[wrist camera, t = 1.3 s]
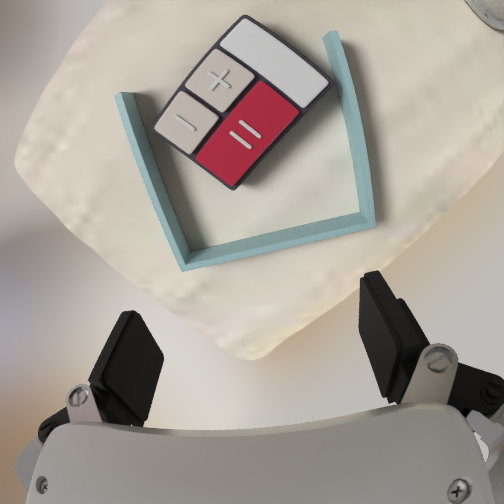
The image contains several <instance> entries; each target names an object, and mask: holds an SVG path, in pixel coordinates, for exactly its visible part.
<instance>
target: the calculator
mask: <svg viewBox="0 0 504 504" xmlns="http://www.w3.org/2000/svg"><path fill="white" fill-rule="evenodd" d="M332 86H333V81H332V79H331V78H330V77H328V76H327V75H326V74H325V73H324V72H323V71H322V70H321V69H319V68H318V67H317V66H316V65H315V64H314V63H312V62H311V61H310V60H309V59H308V58H306V57H305V56H304V55H303V54H301V53H300V52H299V51H298V50H296V49H295V48H294V47H293V46H291V45H290V44H289V43H287V42H286V41H285V40H283V39H282V38H281V37H279V36H278V35H277V34H275V33H274V32H272V31H271V30H269V29H268V28H267V27H265V26H264V25H262V24H261V23H259V22H258V21H256V20H255V19H253V18H251V17H250V16H248V15H242V16H241V17H240V18H239V19H238V20H237V21H236V22H235V23H234V24H233V25H232V26H231V27H230V28H229V29H228V30H227V31H226V32H225V33H224V34H223V35H222V36H221V38H220V39H219V40H218V41H217V42H216V43H215V44H214V45H213V46H212V47H211V49H210V50H209V51H208V52H207V53H206V54H205V55H204V57H203V58H202V59H201V60H200V61H199V63H198V64H197V65H196V66H195V67H194V69H193V70H192V71H191V72H190V74H189V75H188V76H187V77H186V79H185V80H184V81H183V82H182V84H181V85H180V86H179V88H178V89H177V90H176V92H175V93H174V94H173V96H172V97H171V98H170V100H169V101H168V103H167V104H166V105H165V107H164V108H163V110H162V111H161V113H160V114H159V116H158V117H157V118H156V120H155V121H154V123H153V125H152V126H151V130H152V131H153V132H154V133H155V134H157V135H158V136H159V137H161V138H162V139H164V140H165V141H166V142H168V143H169V144H170V145H172V146H173V147H175V148H176V149H177V150H179V151H180V152H181V153H183V154H184V155H185V156H187V157H188V158H189V159H191V160H192V161H193V162H195V163H196V164H197V165H199V166H200V167H201V168H203V169H204V170H205V171H207V172H208V173H209V174H211V175H212V176H213V177H215V178H216V179H217V180H219V181H220V182H221V183H223V184H224V185H225V186H226V187H228V188H229V189H231V190H236V189H237V188H238V187H239V185H240V184H241V183H242V182H243V181H244V180H245V179H246V177H247V176H248V175H249V174H250V173H251V172H252V171H253V170H254V168H255V167H256V166H257V165H258V164H259V163H260V162H261V161H262V160H263V158H264V157H265V156H266V155H267V154H268V153H269V152H270V151H271V150H272V149H273V147H274V146H275V145H276V144H277V143H278V142H279V141H280V140H281V139H282V138H283V137H284V136H285V134H286V133H287V132H288V131H289V130H290V129H291V128H292V127H293V126H294V125H295V124H296V123H297V122H298V121H299V120H300V119H301V118H302V117H303V116H304V115H305V113H306V112H307V111H308V110H309V109H310V108H311V107H312V106H313V105H314V104H315V103H316V102H317V101H318V100H319V99H320V98H321V97H322V96H323V95H324V94H325V93H326V92H327V91H328V90H329V89H330V88H331V87H332Z"/></svg>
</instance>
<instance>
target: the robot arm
mask: <svg viewBox="0 0 504 504" xmlns="http://www.w3.org/2000/svg"><path fill="white" fill-rule="evenodd" d="M465 1H466V2H467V3H468V5H469V6H470V7H471V8H472V10H473V11H474V12H475V13H476V14H477V15H478V16H479V17H480V18H481V19H482V20H483V21H484V22H485V23H487V24H488V25H489V26H491V27H493V28H495V29H497V30H504V0H465ZM359 333H360V336H361V339H362V341H363V344H364V346H365V349H366V352H367V355H368V357H369V360H370V363H371V366H372V369H373V372H374V375H375V378H376V381H377V383H378V386H379V389H380V392H381V395H382V397H383V398H385V397H387V400H388V403H393V402H396V404H397V405H392V406H387V407H382V408H378V409H373V410H368V411H364V412H360V413H355V414H351V415H346V416H341V417H336V418H331V419H325V420H319V421H313V422H307V423H301V424H293V425H286V426H277V427H267V428H255V429H239V430H174V429H158V428H146V427H143V425H144V422H145V421H146V420H147V419H148V415H149V411H150V408H151V404H152V400H153V397H154V393H155V390H156V386H157V382H158V379H159V375H160V372H161V369H162V365H163V362H164V355H163V353H162V351H161V350H160V348H159V346H158V345H157V343H156V341H155V340H154V338H153V336H152V334H151V333H150V331H149V329H148V327H147V326H146V324H145V322H144V321H143V319H142V317H141V315H140V314H139V313H137V312H136V311H134V310H132V311H124V312H122V313H121V315H120V317H119V319H118V321H117V322H116V324H115V326H114V328H113V330H112V332H111V334H110V336H109V338H108V340H107V342H106V344H105V346H104V348H103V350H102V352H101V354H100V356H99V358H98V360H97V362H96V364H95V366H94V368H93V370H92V372H91V375H90V377H89V379H88V381H89V382H90V383H91V384H90V386H88V385H86V384H79V385H77V386H75V387H74V388H72V389H71V390H70V392H69V393H68V395H67V397H66V405H67V406H66V407H65V408H63V409H62V410H60V411H59V412H57V413H56V414H54V415H52V416H51V417H49V418H48V419H46V420H45V421H44V422H43V423H42V424H41V425H40V427H39V430H38V437H39V438H37V437H35V438H34V439H33V440H32V441H31V442H30V444H28V445H27V447H26V448H25V449H24V450H23V451H22V452H21V453H20V455H18V457H17V458H16V460H15V470H16V472H17V474H18V476H19V478H20V480H21V481H22V484H23V485H24V487H25V489H26V491H27V492H28V496H27V500H26V504H504V380H503V379H502V378H501V377H500V376H498V375H495V374H492V373H489V372H486V371H483V370H480V369H477V368H473V367H470V366H468V365H465V364H462V363H459V362H458V357H457V354H456V352H455V351H454V350H453V349H452V348H451V347H450V346H448V345H445V344H440V343H436V344H432V345H430V343H429V341H428V340H427V338H426V336H425V334H424V332H423V331H422V329H421V327H420V326H419V324H418V322H417V321H416V319H415V317H414V316H413V314H412V312H411V311H410V309H409V307H408V306H407V304H406V303H405V301H404V300H403V299H402V298H399V299H396V297H395V296H394V294H393V292H392V291H391V289H390V288H389V286H388V284H387V283H386V281H385V280H384V278H383V277H382V275H381V273H380V272H379V271H378V270H377V271H372V272H368V273H365V274H364V277H362V278H360V302H359ZM131 425H132V426H131ZM136 426H137V427H136ZM473 432H476V433H477V434H479V435H480V436H481V438H480V439H481V440H482V441H483V442H485V444H486V445H487V446H488V449H489V456H488V459H487V461H486V462H485V461H484V458H483V455H482V452H481V449H480V447H479V444H478V442H477V440H476V437H475V435H474V433H473Z"/></svg>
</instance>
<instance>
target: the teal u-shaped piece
mask: <svg viewBox="0 0 504 504" xmlns="http://www.w3.org/2000/svg"><path fill="white" fill-rule="evenodd" d="M323 41H324V44H325V47H326V50H327V53H328V57H329V60H330V63H331V67H332V70H333V74H334V77H335V81H336V85H337V89H338V93H339V97H340V101H341V105H342V109H343V114H344V118H345V123H346V127H347V132H348V137H349V142H350V148H351V153H352V159H353V165H354V171H355V177H356V184H357V191H358V199H359V207H360V212H359V213H354V214H350V215H345V216H341V217H337V218H332V219H328V220H323V221H319V222H315V223H310V224H306V225H302V226H297V227H293V228H289V229H284V230H280V231H276V232H272V233H267V234H263V235H259V236H255V237H251V238H246V239H242V240H238V241H234V242H230V243H226V244H222V245H217V246H213V247H209V248H205V249H201V250H197V251H193V252H191V251H190V249H189V246H188V244H187V242H186V239H185V237H184V234H183V232H182V229H181V227H180V224H179V222H178V219H177V217H176V214H175V212H174V209H173V207H172V204H171V202H170V199H169V196H168V194H167V191H166V188H165V186H164V183H163V180H162V178H161V175H160V172H159V170H158V167H157V164H156V161H155V158H154V156H153V153H152V150H151V147H150V144H149V141H148V138H147V135H146V132H145V129H144V126H143V123H142V120H141V117H140V114H139V111H138V108H137V105H136V102H135V98H134V95H133V93H130V92H120V93H118V94H116V95H114V96H115V99H116V103H117V106H118V109H119V112H120V115H121V119H122V122H123V125H124V128H125V131H126V134H127V137H128V140H129V142H130V145H131V148H132V151H133V154H134V157H135V159H136V162H137V165H138V168H139V170H140V173H141V176H142V178H143V181H144V184H145V186H146V189H147V191H148V194H149V196H150V199H151V201H152V204H153V206H154V209H155V211H156V214H157V216H158V219H159V221H160V223H161V226H162V228H163V230H164V233H165V235H166V237H167V240H168V242H169V244H170V247H171V249H172V251H173V253H174V256H175V258H176V260H177V262H178V264H179V267H180V269H181V271H182V272H184V271H188V270H193V269H197V268H201V267H206V266H210V265H215V264H219V263H223V262H228V261H232V260H237V259H241V258H245V257H250V256H254V255H258V254H263V253H267V252H271V251H276V250H280V249H284V248H289V247H293V246H297V245H302V244H306V243H310V242H315V241H319V240H323V239H328V238H332V237H336V236H340V235H345V234H349V233H353V232H358V231H362V230H366V229H370V228H375V227H376V223H375V211H374V200H373V191H372V183H371V175H370V168H369V161H368V154H367V148H366V142H365V137H364V131H363V126H362V121H361V116H360V111H359V107H358V102H357V98H356V94H355V90H354V86H353V82H352V78H351V74H350V70H349V67H348V63H347V60H346V56H345V53H344V50H343V47H342V44H341V40H340V37H339V34H338V31H329V32H328V33H327V34H326V35H325V36H324V37H323Z"/></svg>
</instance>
